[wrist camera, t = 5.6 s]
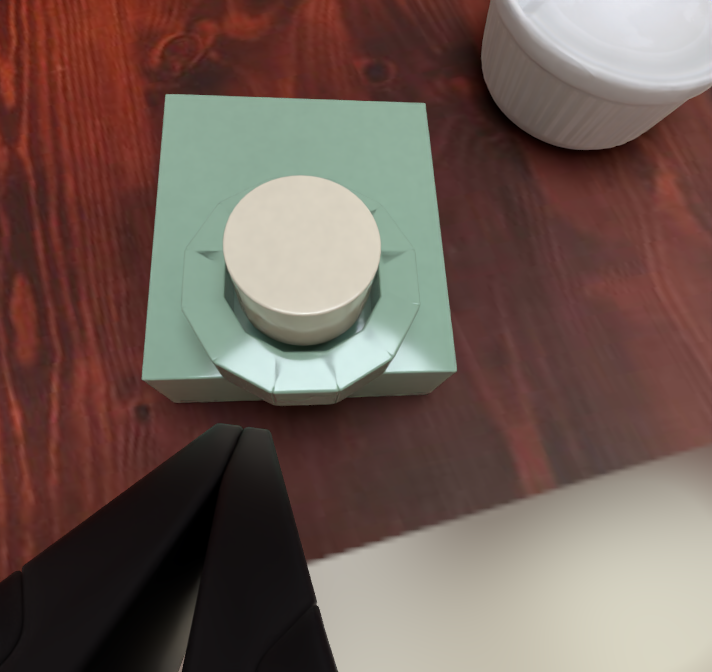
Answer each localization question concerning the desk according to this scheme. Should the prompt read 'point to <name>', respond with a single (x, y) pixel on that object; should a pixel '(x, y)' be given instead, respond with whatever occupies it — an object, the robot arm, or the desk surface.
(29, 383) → the desk surface
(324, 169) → the button base
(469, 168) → the desk surface
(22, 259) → the desk surface
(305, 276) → the cream cylindrical button
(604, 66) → the ramekin
